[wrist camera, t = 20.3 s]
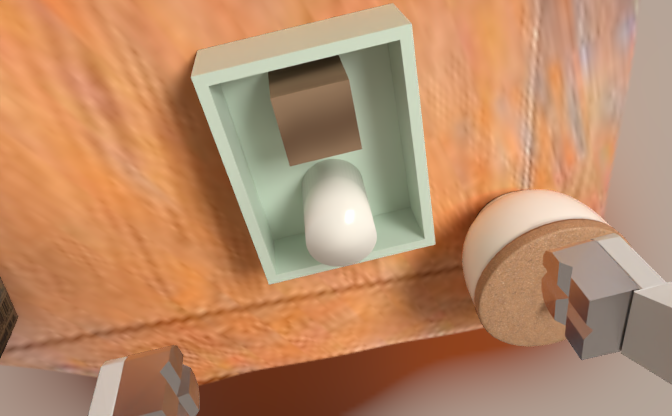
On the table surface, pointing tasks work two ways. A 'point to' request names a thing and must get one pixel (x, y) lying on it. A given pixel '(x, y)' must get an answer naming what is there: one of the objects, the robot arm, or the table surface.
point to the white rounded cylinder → (337, 214)
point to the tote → (372, 160)
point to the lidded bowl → (522, 260)
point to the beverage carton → (6, 317)
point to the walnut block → (314, 110)
